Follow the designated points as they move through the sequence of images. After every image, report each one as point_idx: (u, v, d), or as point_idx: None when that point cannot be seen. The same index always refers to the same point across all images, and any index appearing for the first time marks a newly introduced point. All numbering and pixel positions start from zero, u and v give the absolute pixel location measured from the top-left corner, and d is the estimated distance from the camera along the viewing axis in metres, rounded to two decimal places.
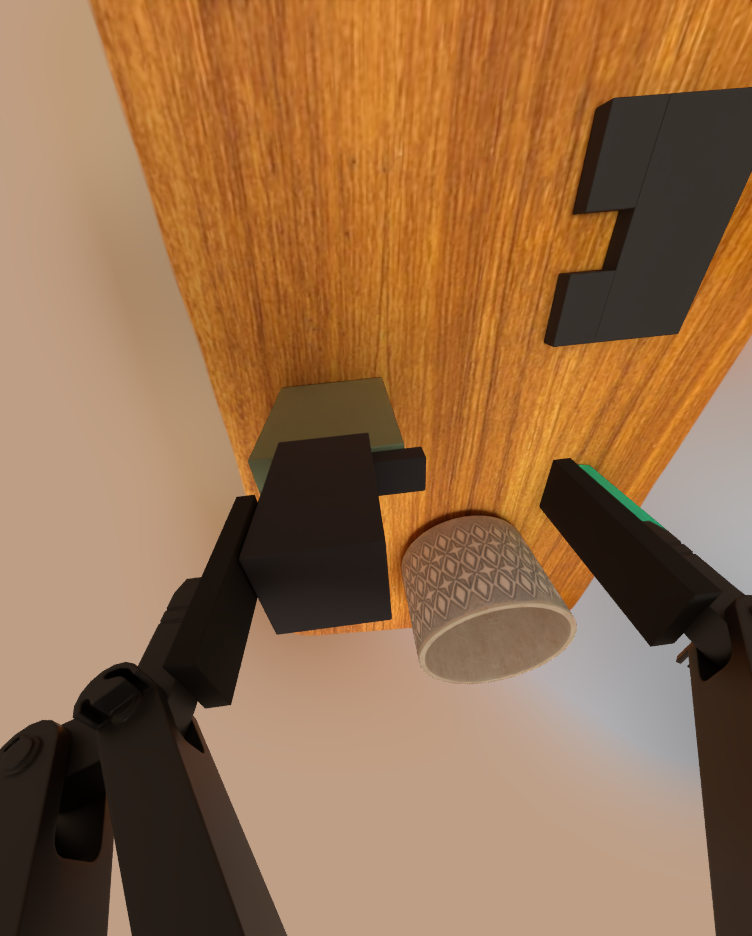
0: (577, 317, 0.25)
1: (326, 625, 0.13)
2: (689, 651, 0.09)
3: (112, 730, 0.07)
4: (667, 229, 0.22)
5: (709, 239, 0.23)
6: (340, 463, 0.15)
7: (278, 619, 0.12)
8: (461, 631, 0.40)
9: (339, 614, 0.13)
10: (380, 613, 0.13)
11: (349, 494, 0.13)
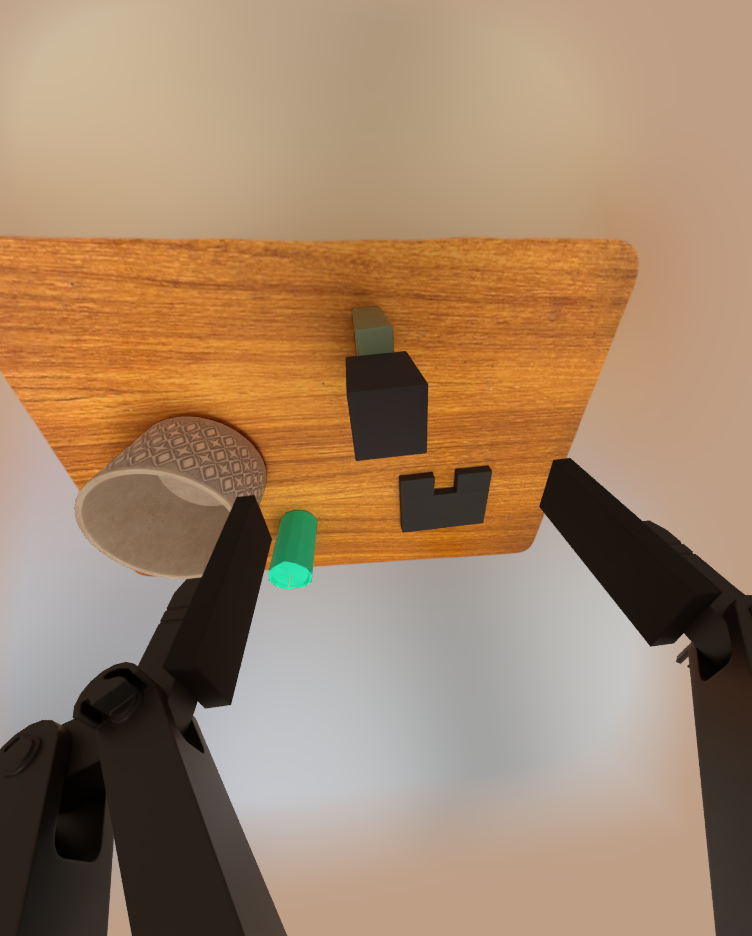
0: (414, 487, 0.47)
1: (354, 424, 0.20)
2: (689, 651, 0.09)
3: (112, 730, 0.07)
4: (446, 507, 0.50)
5: (440, 524, 0.52)
6: None
7: (366, 396, 0.19)
8: (126, 495, 0.36)
9: (365, 432, 0.20)
10: (363, 454, 0.21)
11: None
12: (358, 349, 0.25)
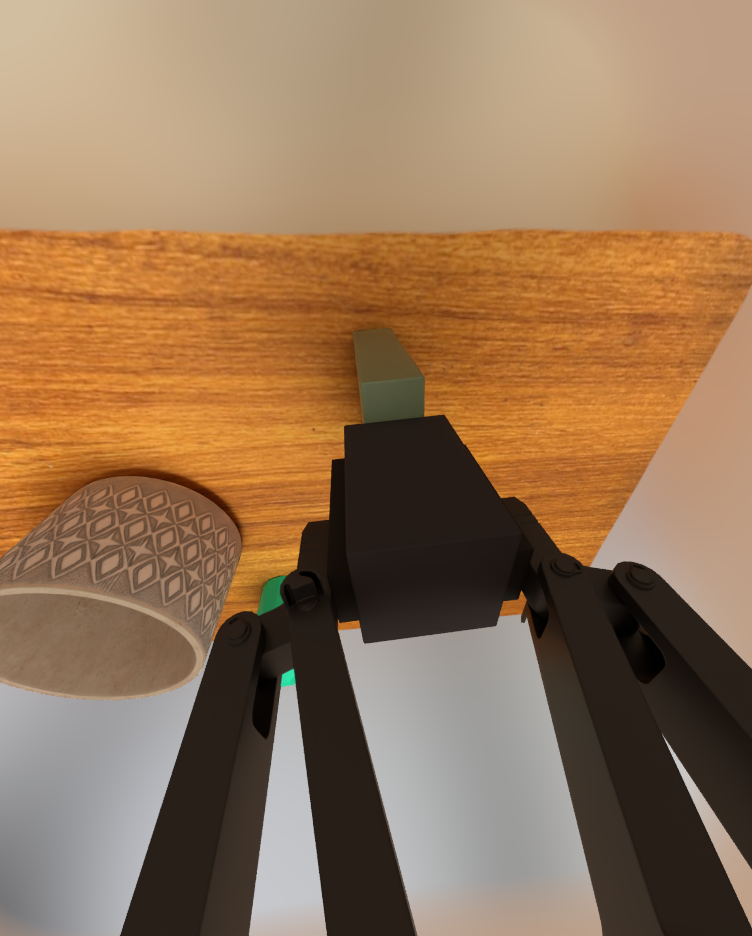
0: None
1: (363, 600, 0.10)
2: (526, 611, 0.10)
3: (297, 614, 0.09)
4: None
5: None
6: None
7: (387, 559, 0.09)
8: None
9: (385, 608, 0.10)
10: (379, 636, 0.11)
11: None
12: (365, 413, 0.15)
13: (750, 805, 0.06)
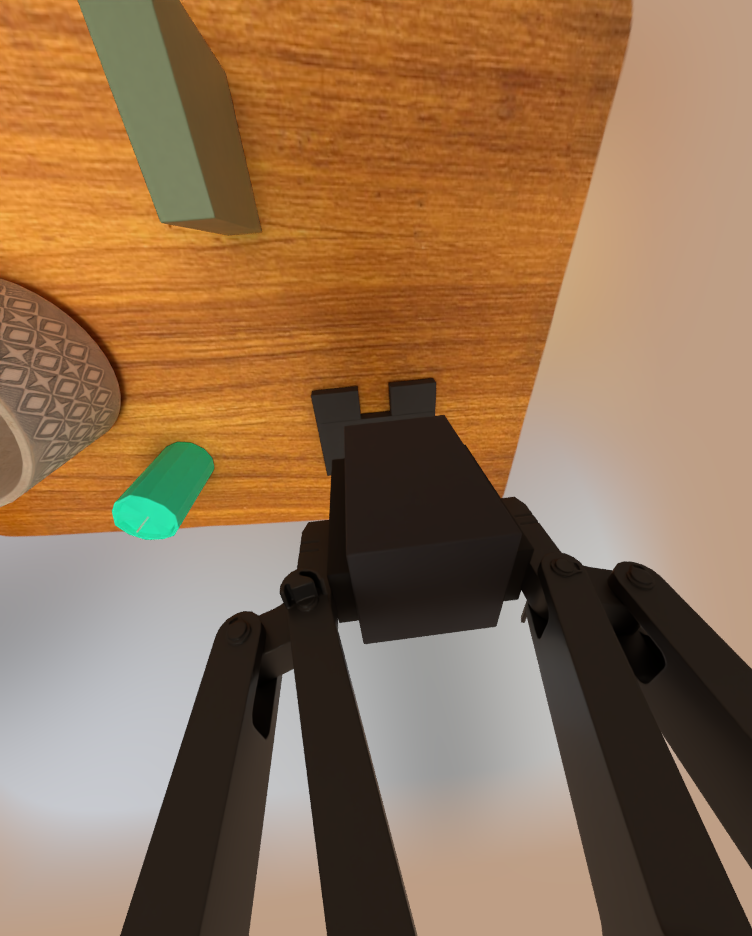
0: (332, 405, 0.35)
1: (363, 600, 0.10)
2: (526, 611, 0.10)
3: (297, 614, 0.09)
4: None
5: None
6: None
7: (388, 559, 0.09)
8: None
9: (385, 609, 0.10)
10: (379, 636, 0.11)
11: None
12: None
13: (750, 805, 0.06)
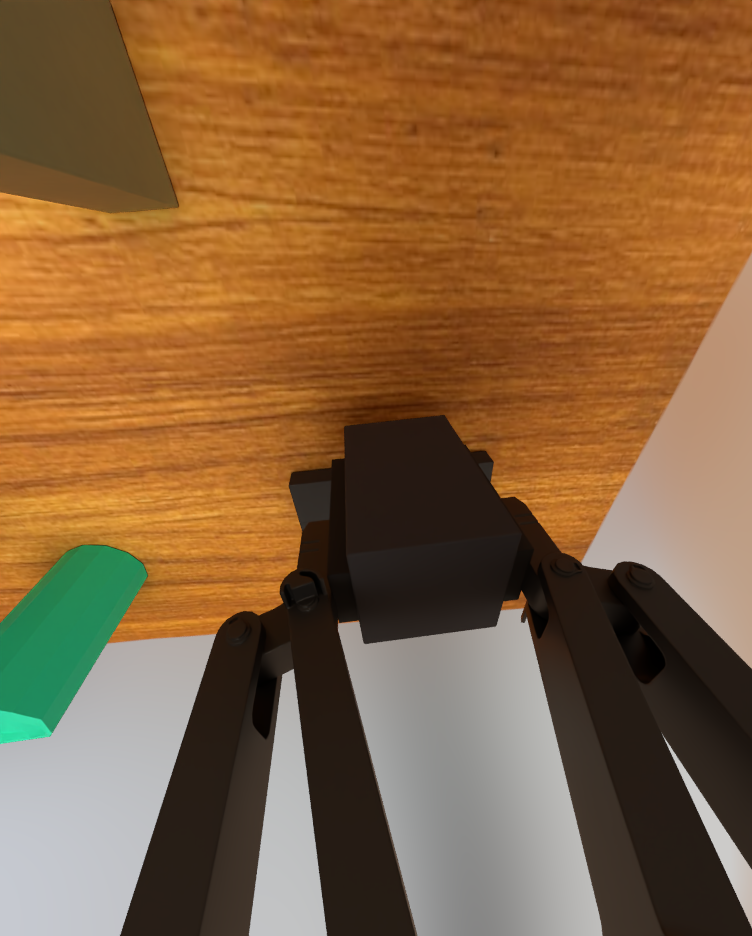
0: (323, 498, 0.21)
1: (363, 600, 0.10)
2: (526, 611, 0.10)
3: (297, 614, 0.09)
4: None
5: None
6: None
7: (388, 559, 0.09)
8: None
9: (385, 608, 0.10)
10: (379, 636, 0.11)
11: None
12: None
13: (750, 805, 0.06)
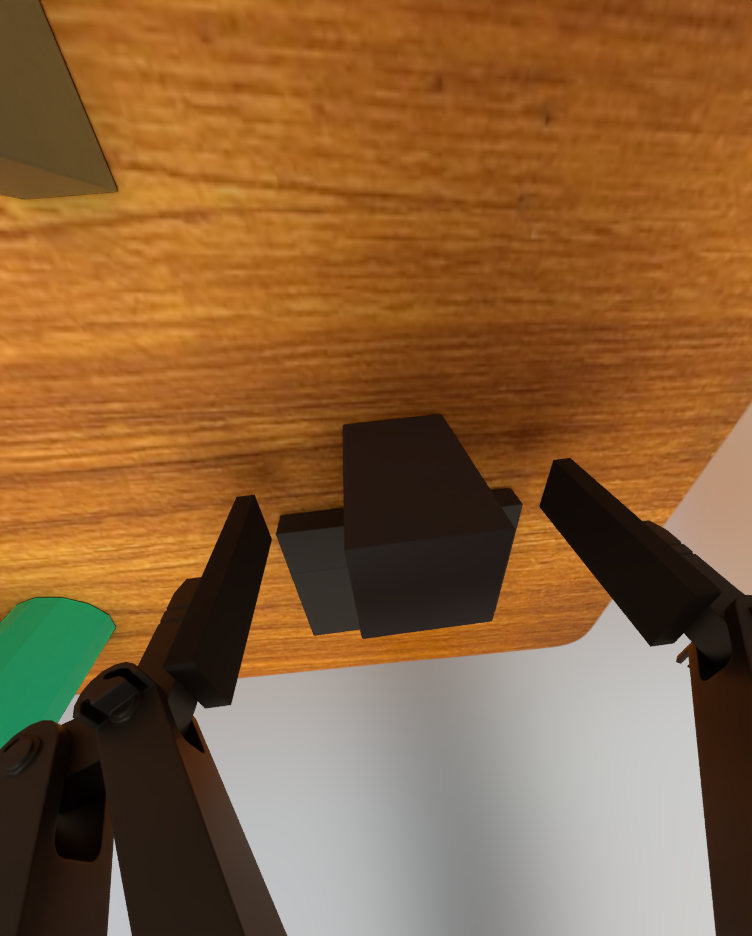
0: (318, 547, 0.18)
1: (361, 595, 0.10)
2: (689, 651, 0.09)
3: (112, 730, 0.07)
4: None
5: None
6: None
7: (385, 554, 0.09)
8: None
9: (382, 604, 0.10)
10: (377, 631, 0.11)
11: None
12: None
13: None
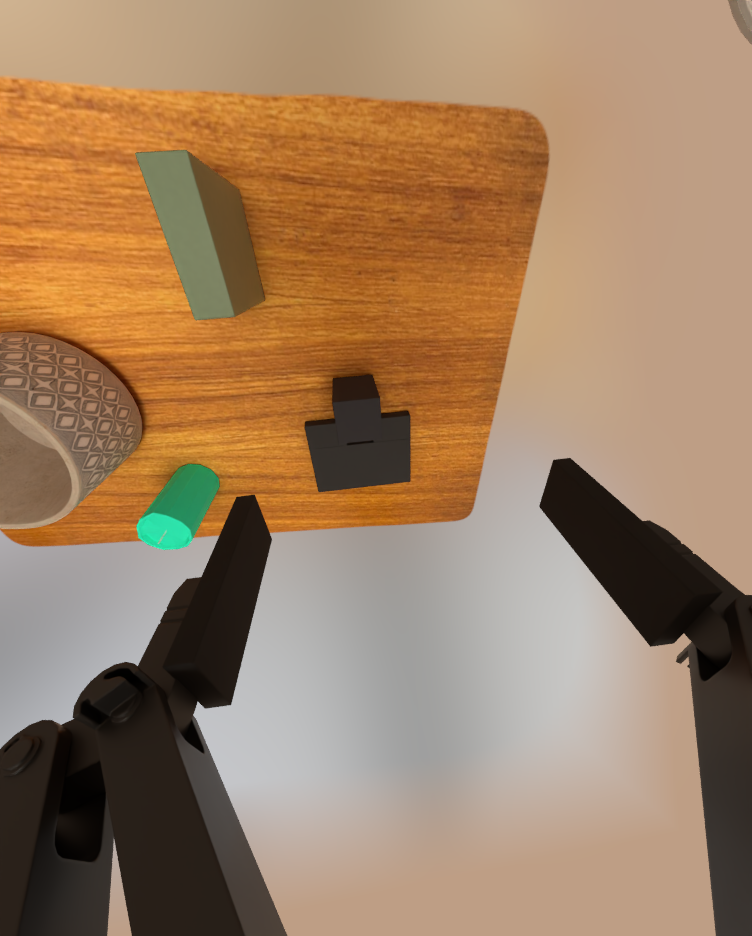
0: (322, 434, 0.41)
1: (337, 421, 0.33)
2: (689, 651, 0.09)
3: (112, 730, 0.07)
4: (365, 461, 0.44)
5: (361, 482, 0.46)
6: None
7: (343, 404, 0.32)
8: None
9: (344, 426, 0.34)
10: (343, 440, 0.34)
11: None
12: (148, 186, 0.19)
13: None
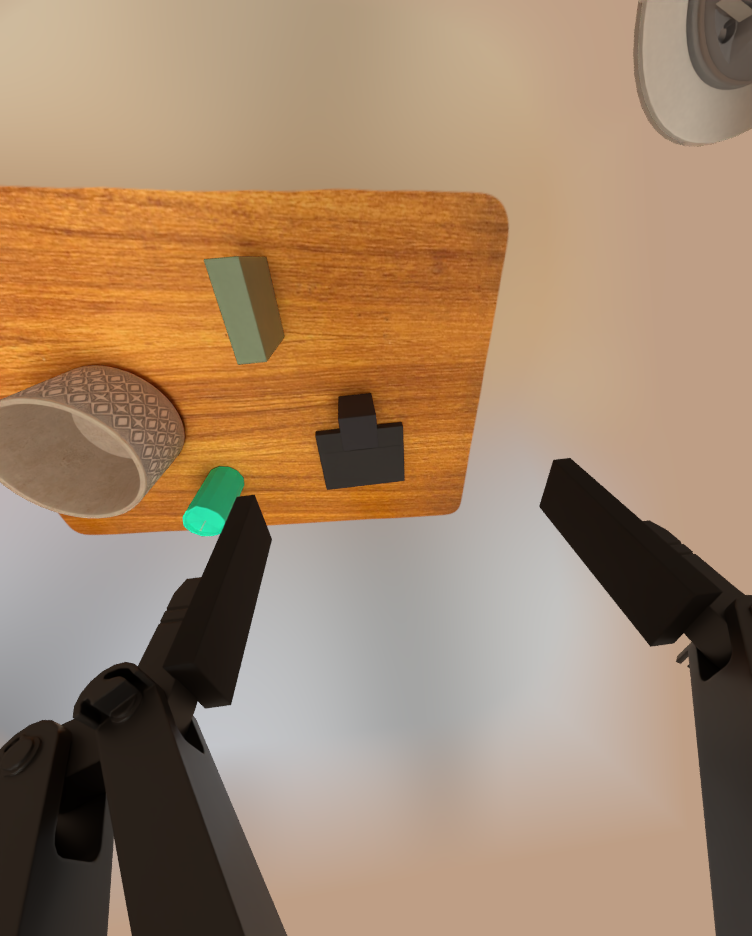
0: (330, 442, 0.49)
1: (342, 433, 0.42)
2: (689, 651, 0.09)
3: (112, 730, 0.07)
4: (365, 464, 0.52)
5: (363, 481, 0.55)
6: None
7: (347, 420, 0.41)
8: (36, 438, 0.39)
9: (347, 437, 0.42)
10: (347, 448, 0.43)
11: None
12: (211, 279, 0.27)
13: None
